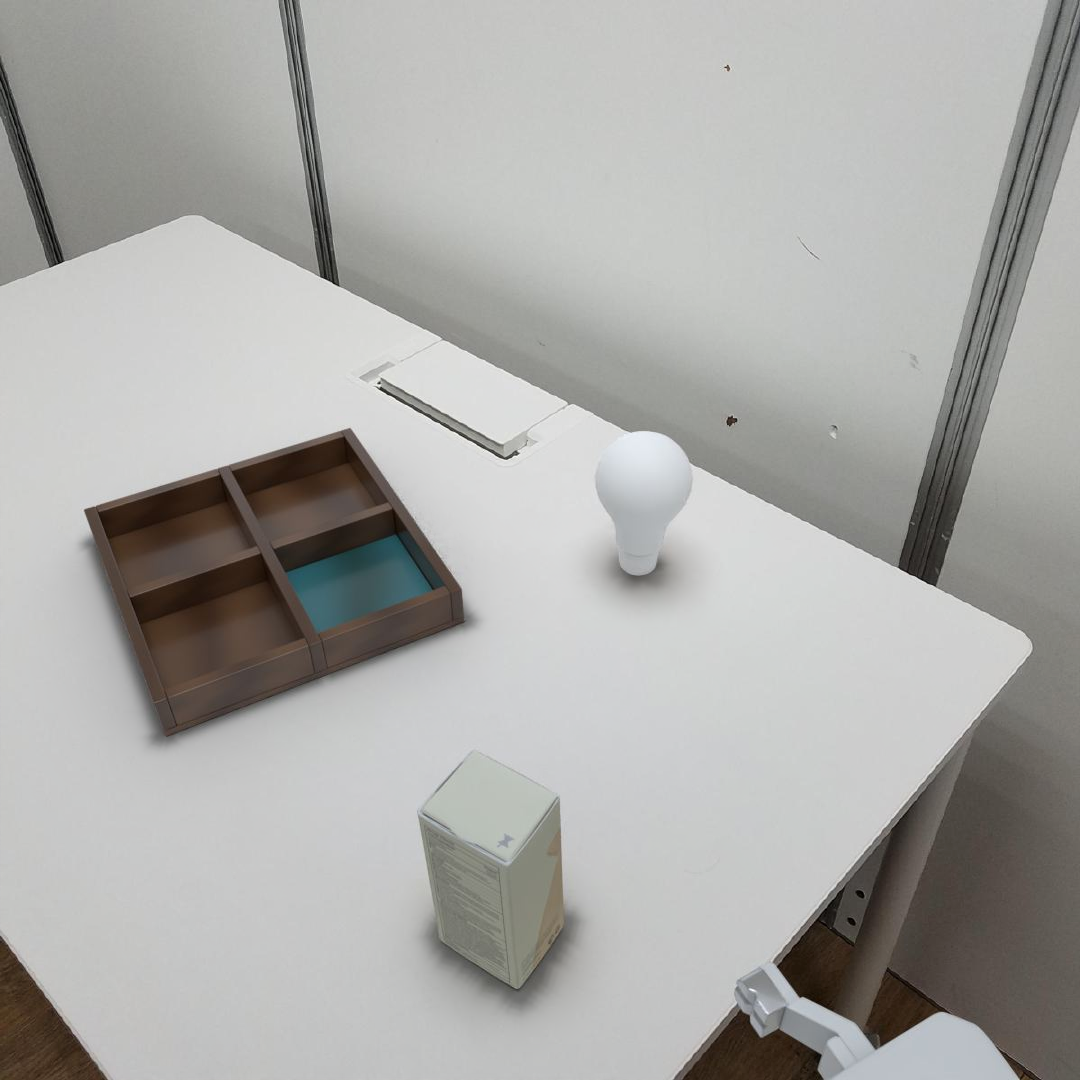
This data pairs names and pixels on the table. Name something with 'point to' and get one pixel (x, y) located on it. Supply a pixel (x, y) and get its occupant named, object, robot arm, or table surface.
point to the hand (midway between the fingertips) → (643, 1037)
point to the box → (494, 866)
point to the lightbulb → (642, 494)
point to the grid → (268, 576)
